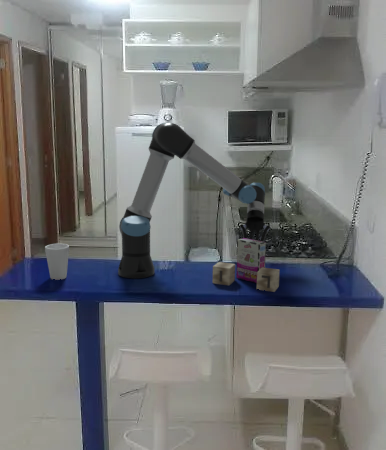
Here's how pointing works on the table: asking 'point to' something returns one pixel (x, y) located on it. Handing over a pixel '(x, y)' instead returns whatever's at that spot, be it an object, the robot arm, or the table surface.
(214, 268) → the wooden character cube
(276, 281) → the light wood cube
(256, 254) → the candy bar box
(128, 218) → the robot arm
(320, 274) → the table surface
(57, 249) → the foam cup
